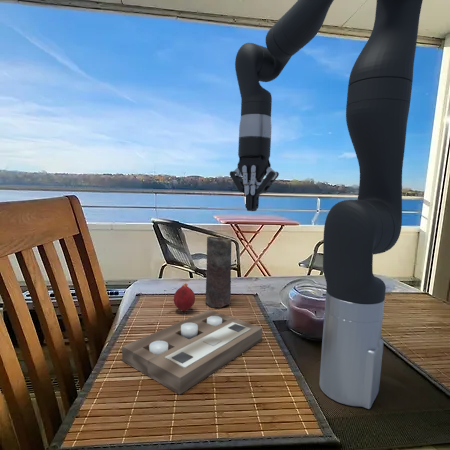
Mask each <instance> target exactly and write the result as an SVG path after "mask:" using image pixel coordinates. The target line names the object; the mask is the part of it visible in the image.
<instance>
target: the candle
mask: <svg viewBox="0 0 450 450" xmlns="http://www.w3.org/2000/svg"><path fill="white" fill-rule="evenodd" d="M205 277H206V279H205V280H206V281H205V302H206V304H207V305H208V307H210V308H213V309H215V308H223V307H225V306H228V305H230V303H231V300H232V299H231V298H232V297H231V296H232V295H231V294H232V293H231V291H232V290H231V289H232V287H231V286H232V238H224V237H222V236H221V237H217V236H207V237H206V275H205Z"/></svg>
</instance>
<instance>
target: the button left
mask: <svg viewBox="0 0 450 450" xmlns="http://www.w3.org/2000/svg"><path fill="white" fill-rule="evenodd" d="M167 350H168V343H167V342H165V341H154V342H152V343H151V344H150V345H149V351H150V352H152V353H154V354H156V355H159V354H161V353H163V352H165V351H167Z"/></svg>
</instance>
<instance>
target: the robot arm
mask: <svg viewBox="0 0 450 450" xmlns="http://www.w3.org/2000/svg"><path fill="white" fill-rule="evenodd" d="M334 1H335V0H297V1H295V2H294V4H293V5H292V6H291V7H290V8H289V9H288V10H287V11H286V12H285V13H284V14H283V15H282V16H281V17H280V18H279V19H278V20H277V21H276V22H275V23H274V24H273V25H272V26H271V27H270V29H269V30H268V31H267V33H266V35H265V46H266V47H265V46H263V45H259V44H256V43H254V42H245V43H243V44H242V45H241V46H240V47H239V49H238V51H237V52H236V55H235V62H234V66H235V67H234V68H235V70H234V71H235V75H236V78H237V85H238V90H239V94H240V98H241V99H240V100H241V101H240V104H241V106H240V120H239V127H238V148H237V149H238V152H237V153H238V154H237V155H238V158H239V160H238V162H237V167H236V168H235V169H234V170H231V171H230V172H229V176H230V178H231V180H232V182H233V183H234V185H235V187H236V188H237V190H238V191H239V193H243V194H244V195H245V203H244V204H245V208H246V211H248V212H257V209H259V204H260V203H259V202H260V201H259V200H260V195H261V194H266V193H267V192H268V190H269V189H270V188H271V187H272V185H273V184H274V182H275V181H276V180H277V178H278V177H279V175H280V173H279V172H278V171H275V170H274V169H273V168H271V167H272V165H271V162H270V157H271V148H272V147H271V144H272V141H271V140H272V105H273V104H272V102H273V101H272V100H273V98H272V93H271V92H270V91H269V90H267V89H265V88H264V87H263V86H262V85H261V83H260V82H262V83H268V82H271V81H272V82H273V81H275V79H277V78H278V77H279V76H280V74H281V73H282V71H283V70H284V69H285V67H286V66H287V64H288V63H289V61H290V60H291V58H292V57H293V56H294V55H296V54H297V53H298V52H299V51H300V50H302V49H303V48H304V47H306V45H308V44H309V43H310V42H311V41H312V40H313V39H314V38H315V37H316V35H318V33H319V31H320V30H321V28H322V26H323V24H324V21H325V20H326V17H327V15H328V12H329V10H330V8H331V5H332V4H333V3H334ZM423 2H424V1H423V0H376V6H375V15H374V23H373V28H372V31H371V33H370V36H369V38H368V39H367V41H366V42H365V44H364V46H363V48H362V49H361V51H360V52H359V55H358V57H357V58H356V60H355V62H354V63H353V66H352V69H351V72H350V74H349V79H348V85H347V95H346V104H345V105H346V106H345V107H346V108H345V121H346V126H347V131H348V135H349V138H350V140H351V144H352V146H353V150H354V152H355V155H356V158H357V159H356V160H357V163H358V167H359V185H358V195H357V199H345V200H344V199H343V200H341V201H338V202H337V203H335V204H334V205H333V206H332V207H331V208H330V210H329V211H328V213H327V215H326V217H325V221H324V227H323V239H322V240H323V241H322V242H323V244H322V247H323V249H322V271H323V276H324V279H325V283H326V291H325V299H324V300H325V302H324V314H323V317H324V318H323V326H322V327H323V328H322V340H321V341H322V342H321V352H320V353H321V357H320V368H319V369H320V370H319V388H320V390H321V391H322V392H323V394H325V395H326V396H327V397H328V398H329V399H331V400H333V401H335V402H337V403H340V404H343V405H346V406H351V407H360V408H361V407H362V408H365V409H368V410H370V409H371V407H372V406H373V403H374V401H375V400H376V399H377V396H378V395H379V392H380V382H381V374H382V363H383V362H382V360H383V352H384V340H383V339H382V330H383V320H384V310H385V308H384V307H385V298H386V292H387V291H386V289H387V288H386V284H385V282H384V280H383V279H381V278H380V277H377V276H375V275H374V273H373V272H374V271H373V268H374V267H373V263H374V261H373V259H374V258H373V257H374V255H380V254H383V253H386V252H387V251H389V250H391V249H392V248H394V246H395V245H396V243H397V242H398V241H399V239H400V236H401V231H402V225H403V168H404V166H403V165H404V159H405V158H404V157H405V148H406V138H407V128H408V127H407V126H408V118H409V113H410V107H411V100H412V99H411V98H412V91H413V83H414V82H413V80H414V63H415V57H416V50H417V43H418V36H419V35H418V34H419V26H420V25H419V24H420V16H421V11H422V5H423Z"/></svg>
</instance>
